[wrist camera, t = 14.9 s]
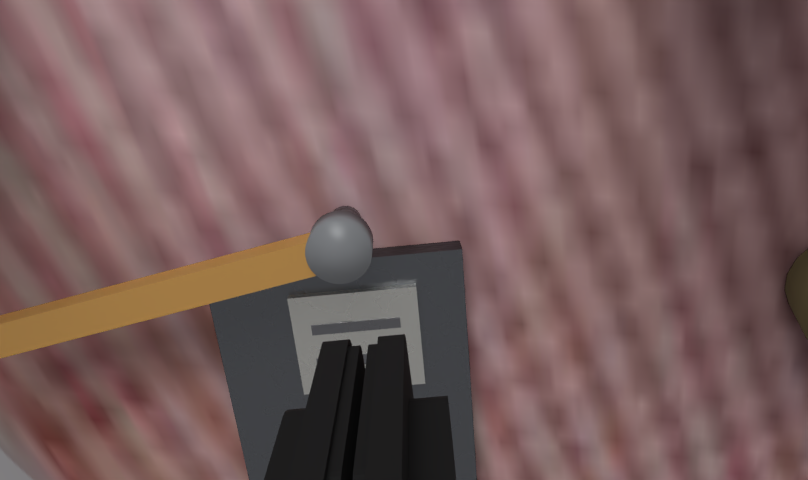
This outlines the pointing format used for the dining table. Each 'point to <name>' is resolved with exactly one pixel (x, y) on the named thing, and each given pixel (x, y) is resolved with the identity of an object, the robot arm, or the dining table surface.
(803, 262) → the squeeze bottle
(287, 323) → the label base
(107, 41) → the dining table surface
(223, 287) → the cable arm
